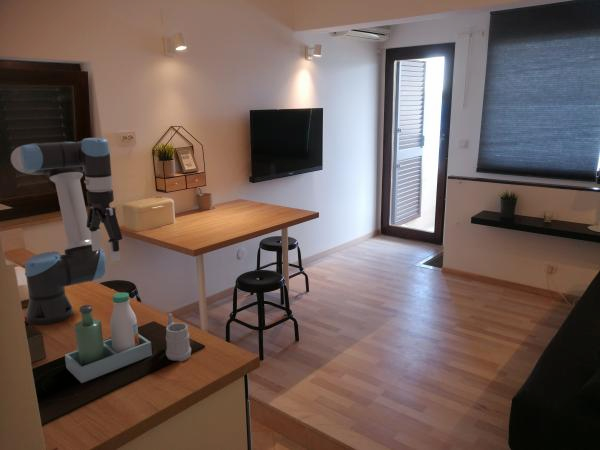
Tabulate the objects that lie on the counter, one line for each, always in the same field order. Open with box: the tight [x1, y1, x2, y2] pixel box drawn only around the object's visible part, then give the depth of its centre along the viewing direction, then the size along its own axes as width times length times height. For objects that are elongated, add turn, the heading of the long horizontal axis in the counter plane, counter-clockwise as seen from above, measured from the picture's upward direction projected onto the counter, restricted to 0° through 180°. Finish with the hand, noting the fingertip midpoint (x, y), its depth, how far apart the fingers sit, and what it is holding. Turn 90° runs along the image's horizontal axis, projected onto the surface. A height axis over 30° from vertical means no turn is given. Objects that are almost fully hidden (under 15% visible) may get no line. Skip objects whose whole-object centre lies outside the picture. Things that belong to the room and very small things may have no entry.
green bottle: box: [74, 304, 105, 367], centre depth 138 cm, size 7×7×19 cm
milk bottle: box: [109, 292, 139, 353], centre depth 145 cm, size 8×8×20 cm
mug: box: [165, 313, 192, 362], centre depth 148 cm, size 8×12×12 cm, turn 34°
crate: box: [64, 333, 153, 384], centre depth 144 cm, size 11×21×5 cm, turn 135°
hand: (106, 255), depth 152 cm, fingers open, 13 cm apart
